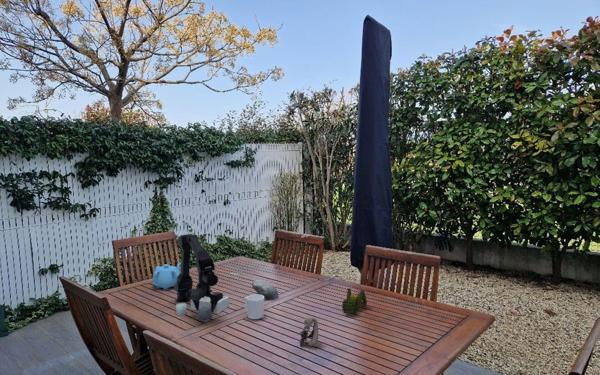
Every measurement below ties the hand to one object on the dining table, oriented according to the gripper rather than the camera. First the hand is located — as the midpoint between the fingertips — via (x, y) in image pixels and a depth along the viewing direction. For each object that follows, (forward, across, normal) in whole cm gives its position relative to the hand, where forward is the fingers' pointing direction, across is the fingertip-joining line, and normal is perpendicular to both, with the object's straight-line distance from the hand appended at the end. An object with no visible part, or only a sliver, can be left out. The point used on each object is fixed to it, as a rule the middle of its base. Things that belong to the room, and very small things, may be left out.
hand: (204, 311), depth 193 cm
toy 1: (+4, +59, -6) cm, 60 cm away
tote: (+4, -6, +12) cm, 14 cm away
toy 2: (+4, +67, +41) cm, 79 cm away
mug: (+4, +22, +11) cm, 25 cm away
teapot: (+4, -53, +33) cm, 62 cm away
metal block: (+4, 0, 0) cm, 4 cm away
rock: (+4, +13, +40) cm, 42 cm away
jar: (+4, -15, 0) cm, 15 cm away
